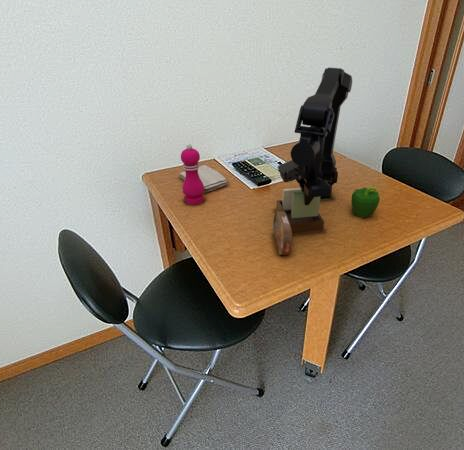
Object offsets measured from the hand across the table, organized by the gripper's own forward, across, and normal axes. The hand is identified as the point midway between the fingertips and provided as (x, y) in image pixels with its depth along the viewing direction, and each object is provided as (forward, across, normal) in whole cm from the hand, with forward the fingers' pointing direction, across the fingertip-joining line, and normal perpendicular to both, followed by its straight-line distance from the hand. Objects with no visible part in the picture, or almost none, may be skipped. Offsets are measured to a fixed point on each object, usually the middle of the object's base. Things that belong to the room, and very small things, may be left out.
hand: (305, 203), depth 97 cm
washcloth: (+9, -37, -28) cm, 47 cm away
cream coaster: (+8, -10, 0) cm, 13 cm away
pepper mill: (+9, -23, -31) cm, 40 cm away
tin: (+9, +6, -8) cm, 14 cm away
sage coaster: (+4, 0, 0) cm, 4 cm away
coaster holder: (+9, -5, 0) cm, 10 cm away
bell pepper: (+9, -5, +22) cm, 24 cm away
